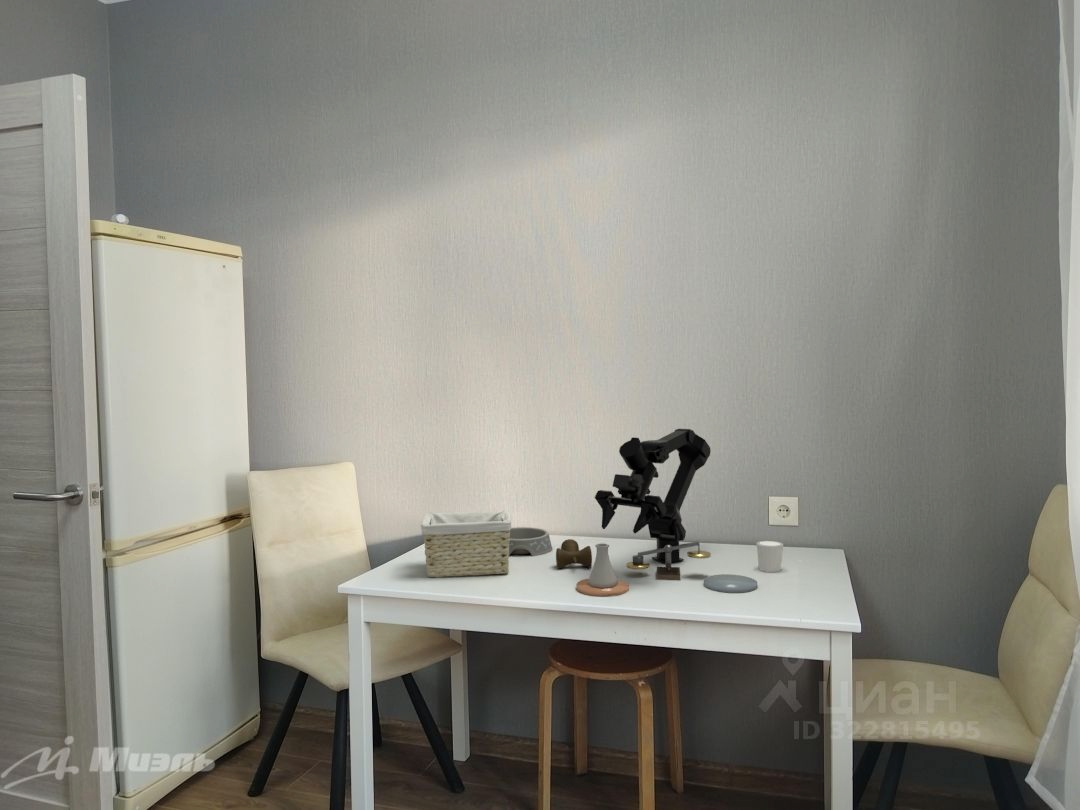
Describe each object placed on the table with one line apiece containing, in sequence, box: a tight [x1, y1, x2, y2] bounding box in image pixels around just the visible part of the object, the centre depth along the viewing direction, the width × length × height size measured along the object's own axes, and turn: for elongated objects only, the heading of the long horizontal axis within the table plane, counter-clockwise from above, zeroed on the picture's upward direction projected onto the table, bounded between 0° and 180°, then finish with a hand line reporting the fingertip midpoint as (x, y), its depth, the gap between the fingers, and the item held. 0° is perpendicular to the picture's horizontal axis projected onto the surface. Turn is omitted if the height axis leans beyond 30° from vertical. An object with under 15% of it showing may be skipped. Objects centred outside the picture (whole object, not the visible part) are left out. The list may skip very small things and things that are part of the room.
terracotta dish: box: [575, 578, 630, 597], centre depth 203 cm, size 13×13×1 cm
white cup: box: [756, 540, 784, 573], centre depth 219 cm, size 7×7×7 cm
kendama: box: [555, 539, 593, 570], centre depth 228 cm, size 6×10×20 cm
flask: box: [587, 542, 618, 588], centre depth 203 cm, size 7×7×10 cm
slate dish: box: [703, 574, 758, 594], centre depth 205 cm, size 13×13×1 cm
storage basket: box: [420, 509, 513, 578], centre depth 223 cm, size 24×16×15 cm
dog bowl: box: [509, 526, 553, 557], centre depth 245 cm, size 17×18×5 cm
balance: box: [626, 541, 712, 581], centre depth 214 cm, size 22×8×9 cm, turn 81°
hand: (618, 530), depth 209 cm, fingers open, 9 cm apart
